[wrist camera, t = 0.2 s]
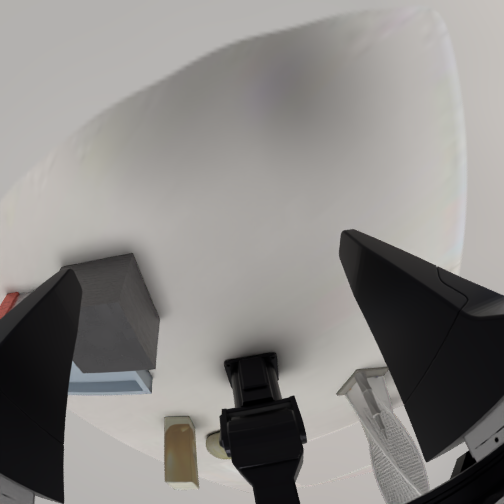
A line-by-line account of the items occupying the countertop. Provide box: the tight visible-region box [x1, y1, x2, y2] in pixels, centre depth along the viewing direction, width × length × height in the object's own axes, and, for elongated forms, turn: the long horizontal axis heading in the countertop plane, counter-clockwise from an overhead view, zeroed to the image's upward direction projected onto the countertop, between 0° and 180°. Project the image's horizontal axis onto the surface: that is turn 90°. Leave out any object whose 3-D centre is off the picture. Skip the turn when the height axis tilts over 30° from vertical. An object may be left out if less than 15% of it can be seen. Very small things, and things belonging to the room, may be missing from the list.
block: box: [60, 253, 160, 373], centre depth 24 cm, size 8×8×6 cm
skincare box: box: [164, 416, 199, 490], centre depth 39 cm, size 6×4×12 cm
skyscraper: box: [336, 367, 430, 504], centre depth 33 cm, size 8×8×28 cm
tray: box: [68, 361, 153, 395], centre depth 31 cm, size 10×19×2 cm, turn 96°
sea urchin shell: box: [206, 433, 231, 459], centre depth 48 cm, size 9×8×8 cm
